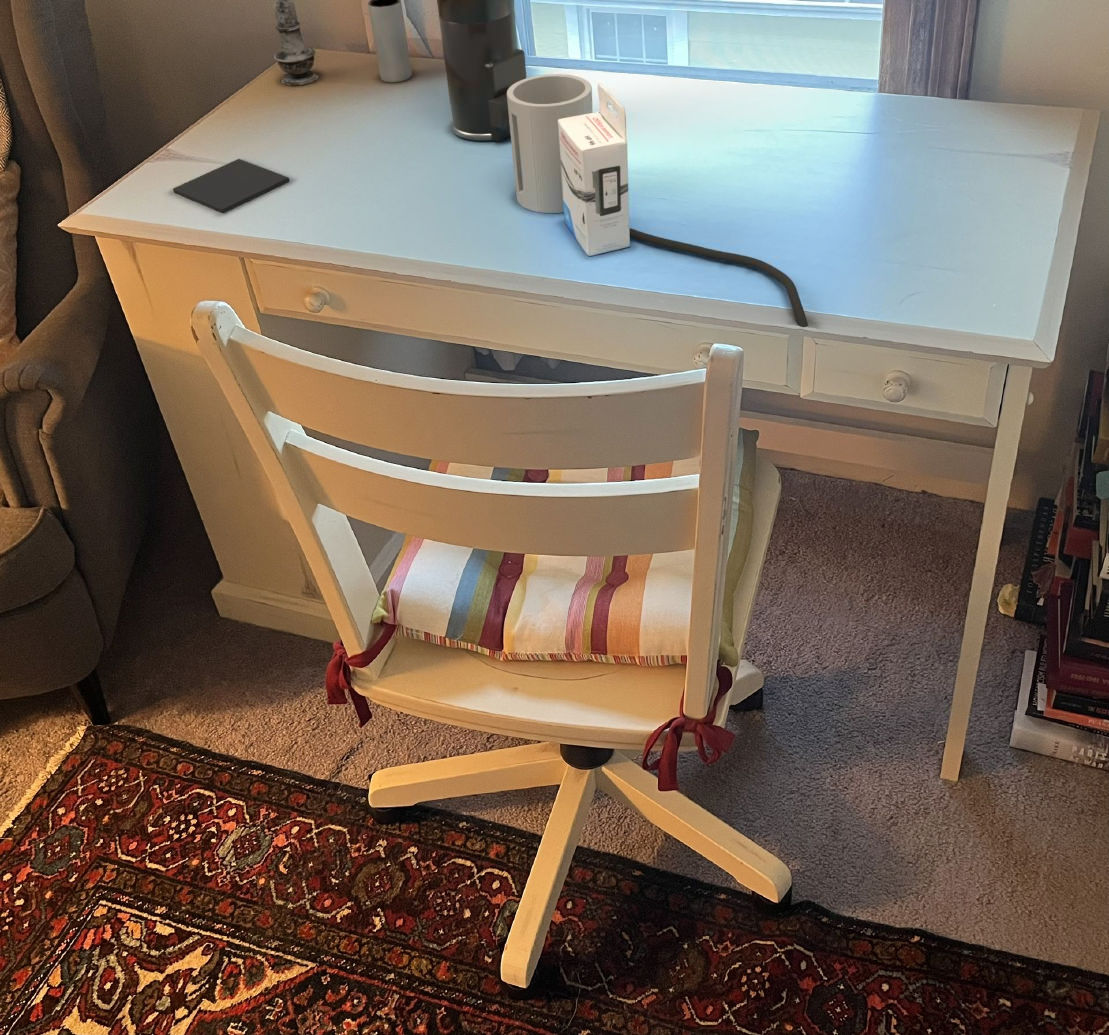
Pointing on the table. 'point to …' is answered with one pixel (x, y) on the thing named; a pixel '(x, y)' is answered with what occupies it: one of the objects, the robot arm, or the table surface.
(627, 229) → the ink box
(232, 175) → the mat
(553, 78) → the cup
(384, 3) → the grey tall cylinder
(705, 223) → the table surface
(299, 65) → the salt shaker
